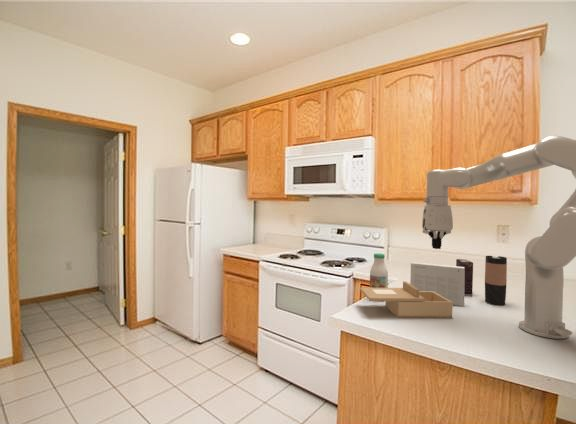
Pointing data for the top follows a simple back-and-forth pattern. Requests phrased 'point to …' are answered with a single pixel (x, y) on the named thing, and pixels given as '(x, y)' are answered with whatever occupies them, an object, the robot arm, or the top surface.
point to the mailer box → (422, 307)
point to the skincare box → (440, 280)
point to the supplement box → (467, 275)
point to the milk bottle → (379, 272)
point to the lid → (393, 293)
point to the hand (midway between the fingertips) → (436, 248)
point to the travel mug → (495, 280)
